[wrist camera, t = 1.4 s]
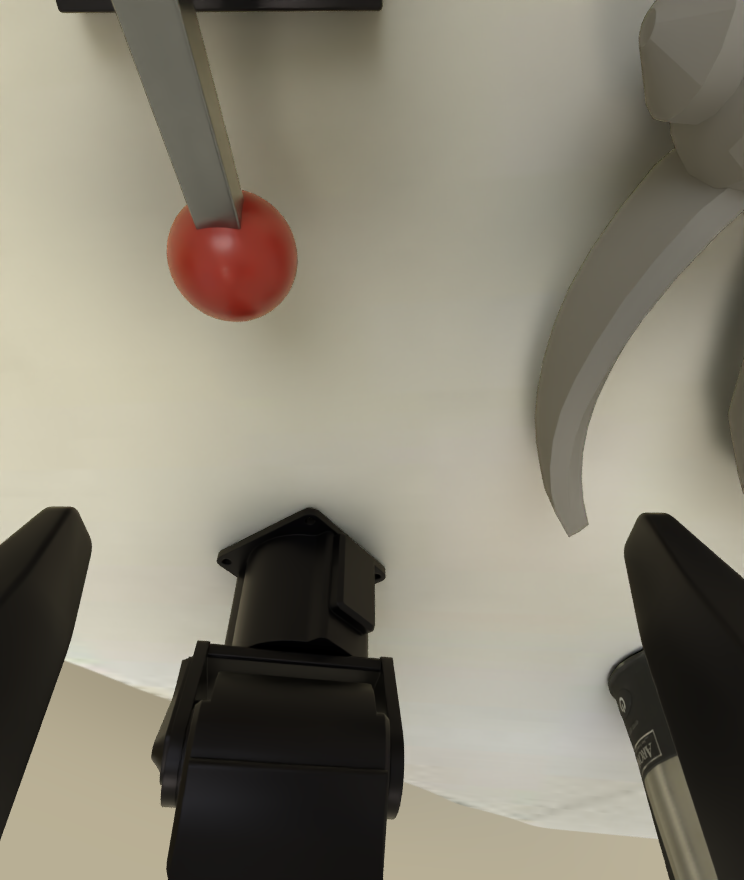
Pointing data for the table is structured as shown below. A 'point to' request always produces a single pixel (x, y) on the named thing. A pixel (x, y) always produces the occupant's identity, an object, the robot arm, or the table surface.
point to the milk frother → (661, 772)
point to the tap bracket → (236, 5)
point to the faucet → (650, 232)
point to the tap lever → (206, 173)
